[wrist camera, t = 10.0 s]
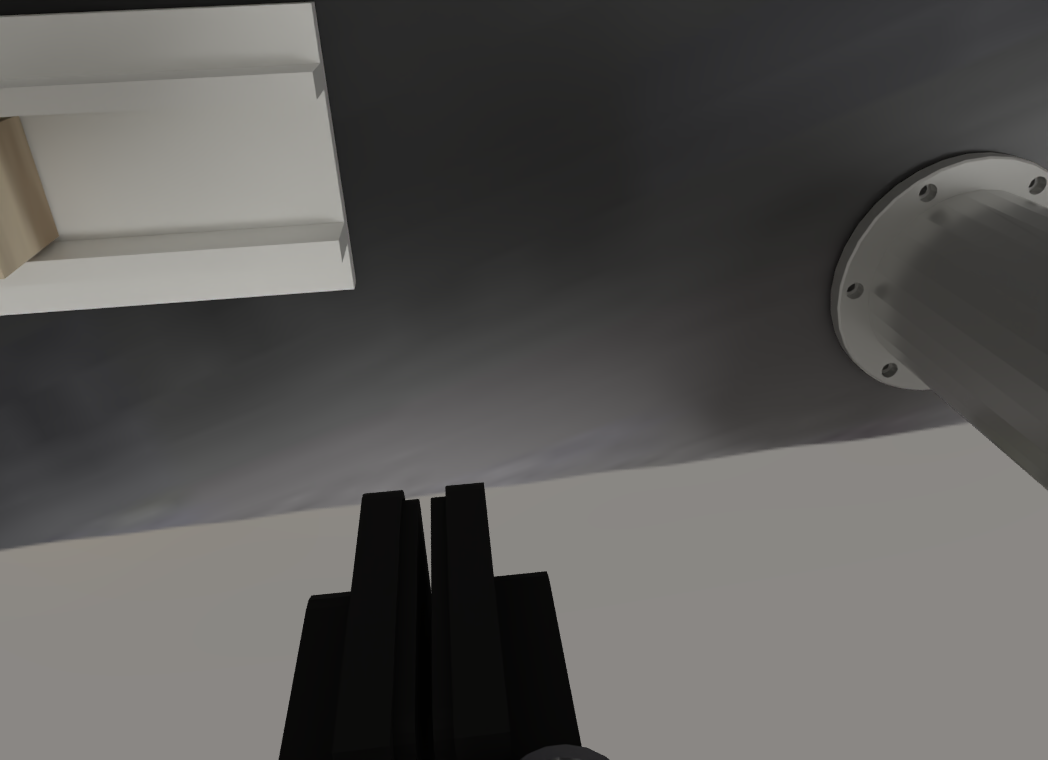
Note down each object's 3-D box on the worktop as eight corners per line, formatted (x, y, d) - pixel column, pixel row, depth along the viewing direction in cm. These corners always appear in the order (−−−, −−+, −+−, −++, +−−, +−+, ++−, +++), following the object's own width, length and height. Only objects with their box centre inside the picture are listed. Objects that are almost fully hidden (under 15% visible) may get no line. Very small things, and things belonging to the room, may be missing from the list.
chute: (314, 1, 31) (301, 7, 28) (355, 281, 37) (349, 312, 34) (-136, 22, 30) (-203, 30, 27) (-19, 308, 36) (-63, 344, 33)
